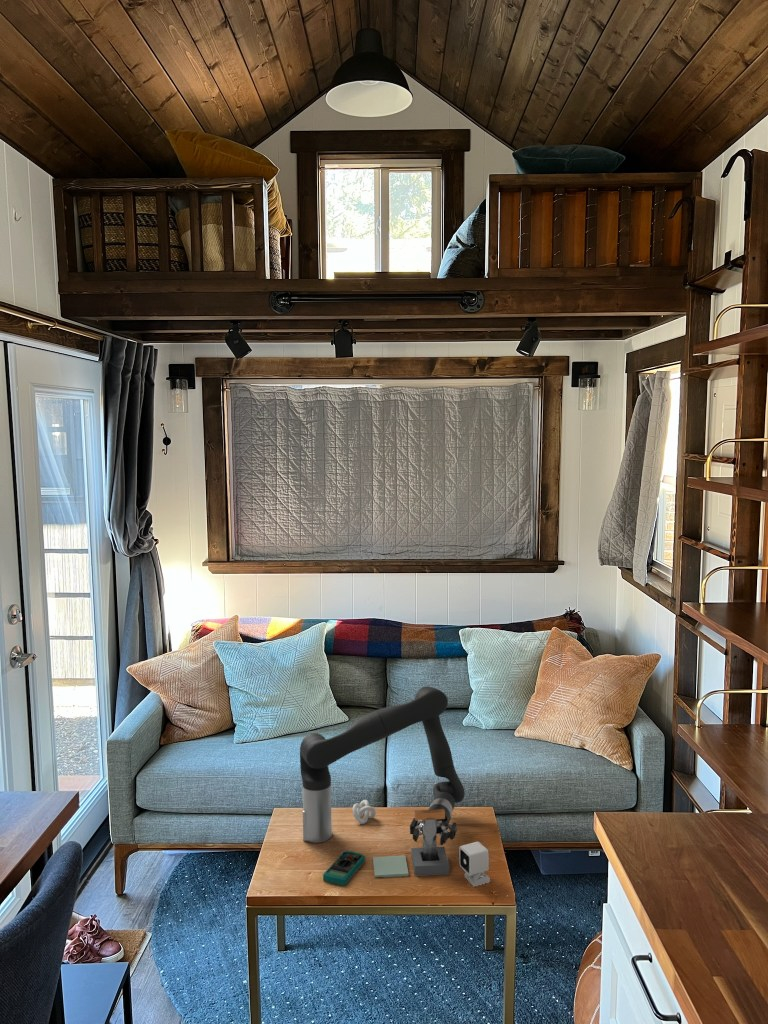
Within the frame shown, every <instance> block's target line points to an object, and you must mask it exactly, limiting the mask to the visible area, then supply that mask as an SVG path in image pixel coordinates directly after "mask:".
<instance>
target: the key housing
mask: <svg viewBox="0 0 768 1024" xmlns="http://www.w3.org/2000/svg"><path fill="white" fill-rule="evenodd" d="M436 854H437V861H423V847H411V848H410V855H411V856H410V860H411V862H412V863H411V864H412V868H413V872H414V876H415V877H420V876H421V877H425V876H439V875H441V876H443V875H450V862H449V858H448V856H447V855H448V854H447V853H446V849H445V846H436Z"/></svg>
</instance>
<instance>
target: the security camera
mask: <svg viewBox="0 0 768 1024" xmlns="http://www.w3.org/2000/svg"><path fill="white" fill-rule="evenodd" d="M458 851H459V852H458V853H459V855H458V858H459V867H460V868H461V869H462V870H463V871H464V872H465V873H464V879H465V878H466V879H467V880H468V883H470V885H472V886H473V887H474V888H475V886H476V887H479V886H478V885H480V886H482V884H483V885H486V884H485V883H487V884H490V883H491V877H490V876H489V875H487V873H485V872H487V871H490V870H489V866H490V865H489V863H490V862H489V861H490V858H489V857H490V856H489V855H490V854H489V853H490V852H489V850H488V848H486V847H485V846H484V845H483V844H482V843H481V842H480V841H475V842H471V843H467V844H463V845H460V846H459V849H458ZM466 879H465V880H466ZM467 880H466V881H467ZM489 882H490V883H489Z"/></svg>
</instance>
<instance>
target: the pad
mask: <svg viewBox="0 0 768 1024" xmlns="http://www.w3.org/2000/svg"><path fill="white" fill-rule="evenodd" d="M373 866H374V867H373ZM372 867H373V873H374V879H377V878H376V877H384V878H400V877H402V876H403V877H409V876H410V875H409V873H410V872H409V868H408V864H407V857H406V855H389V856H388V855H387V856H372Z"/></svg>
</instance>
